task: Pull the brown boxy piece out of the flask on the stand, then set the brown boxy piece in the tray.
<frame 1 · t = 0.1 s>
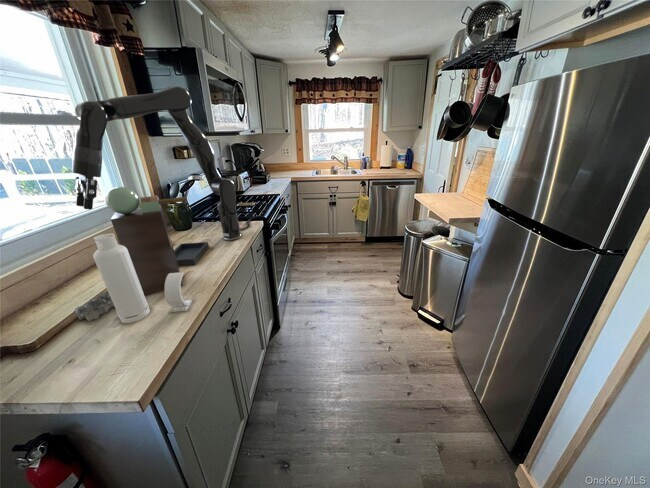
hand: (84, 207, 92), 31 cm above the counter, tool tilted 20°, fingers open, 8 cm apart
tray: (188, 256, 126), on the counter
headphone stand: (181, 308, 88), on the counter
flask: (137, 212, 90), resting on stand
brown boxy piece: (150, 203, 91), point 32 cm above the counter, touching stand
bottle: (135, 315, 85), on the counter
stand: (162, 285, 102), on the counter
grey rock: (99, 311, 88), on the counter
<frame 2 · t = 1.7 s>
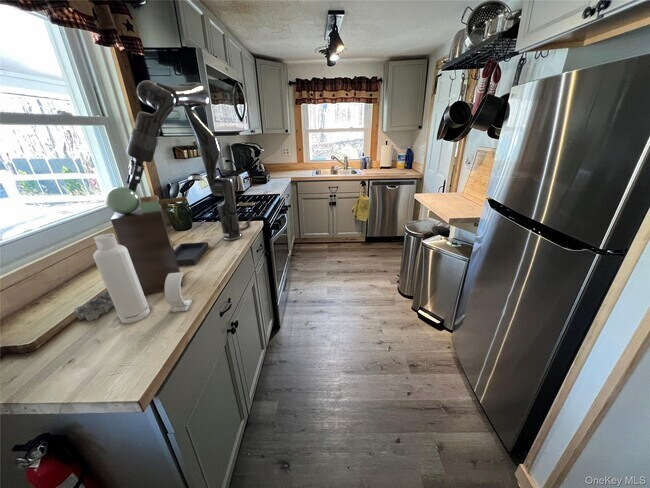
hand: (130, 187, 93), 37 cm above the counter, tool tilted 30°, fingers open, 7 cm apart
nothing on the counter moved.
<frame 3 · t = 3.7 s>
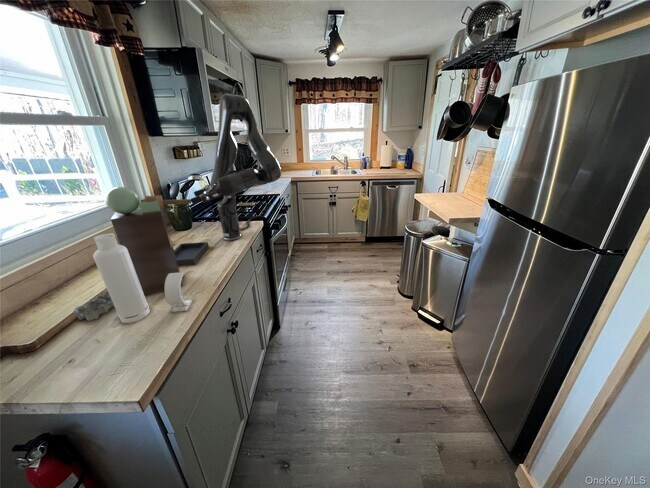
hand: (193, 198, 102), 31 cm above the counter, tool tilted 75°, fingers open, 8 cm apart
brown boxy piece: (154, 202, 91), point 33 cm above the counter, tilted 22°, touching stand
everything else where it was.
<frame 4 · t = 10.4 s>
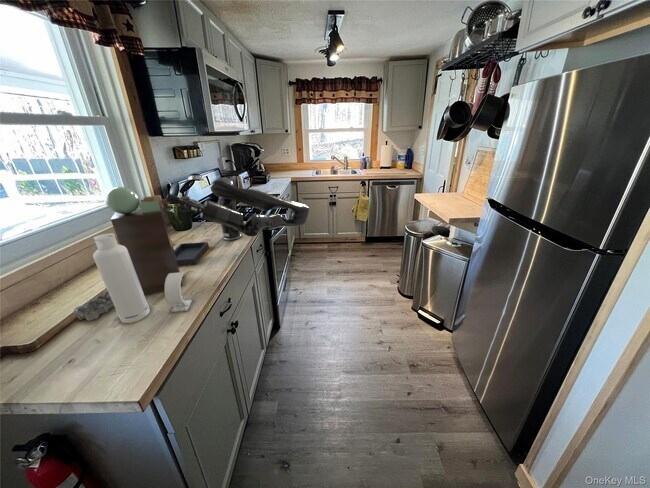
hand: (167, 196, 93), 34 cm above the counter, tool pointing upward, fingers closed on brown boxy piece
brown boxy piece: (153, 202, 91), point 32 cm above the counter, tilted 11°, touching gripper, stand
everything else where it was.
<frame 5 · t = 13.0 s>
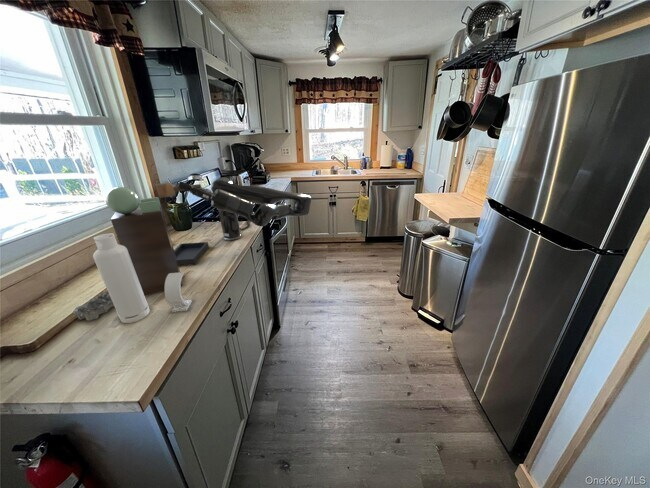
hand: (179, 184, 93), 38 cm above the counter, tool pointing upward, fingers closed on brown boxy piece
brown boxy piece: (165, 190, 92), point 36 cm above the counter, tilted 11°, touching gripper
everything else where it was.
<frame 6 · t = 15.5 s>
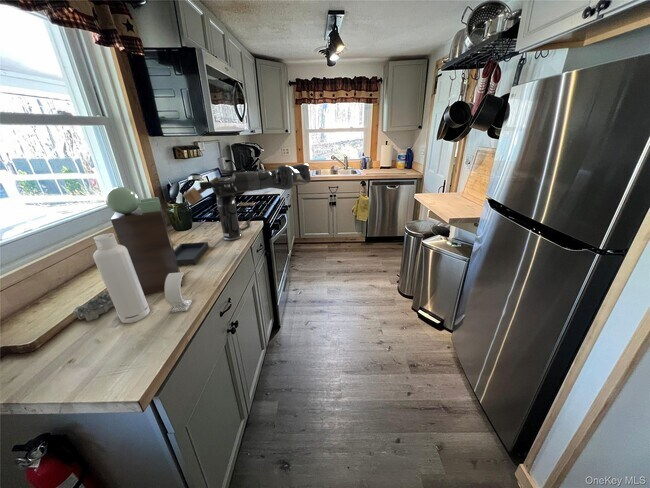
hand: (200, 185, 97), 36 cm above the counter, tool horizontal, fingers closed on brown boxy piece
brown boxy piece: (193, 196, 97), point 33 cm above the counter, tilted 31°, touching gripper
everything else where it was.
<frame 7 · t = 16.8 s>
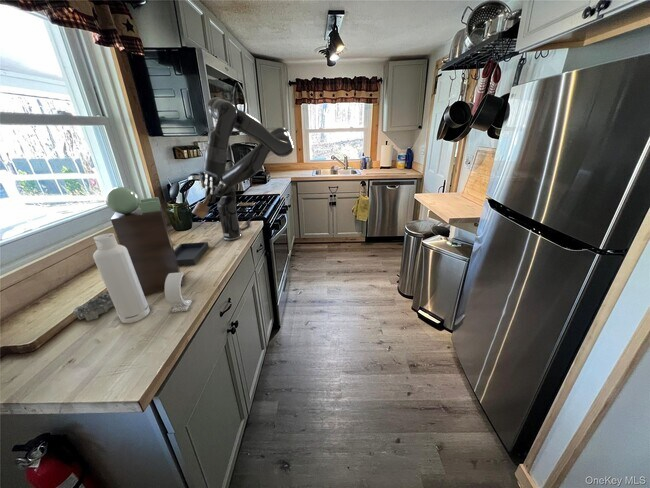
hand: (209, 201, 103), 30 cm above the counter, tool tilted 20°, fingers closed on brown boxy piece
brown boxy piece: (201, 210, 101), point 27 cm above the counter, tilted 121°, touching gripper
everything else where it was.
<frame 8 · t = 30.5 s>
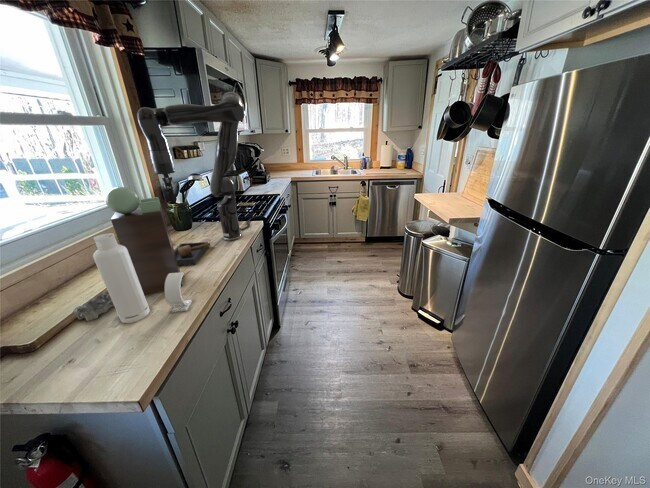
hand: (172, 199, 114), 28 cm above the counter, tool pointing down, fingers open, 8 cm apart
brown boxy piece: (185, 251, 124), point 3 cm above the counter, tilted 160°, touching tray
everything else where it was.
at the end: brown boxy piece inside the target area on the tray (0.8 cm from its centre), point 3.2 cm above the tray's base; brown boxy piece moved 37.7 cm from its start; the gripper is holding nothing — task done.
